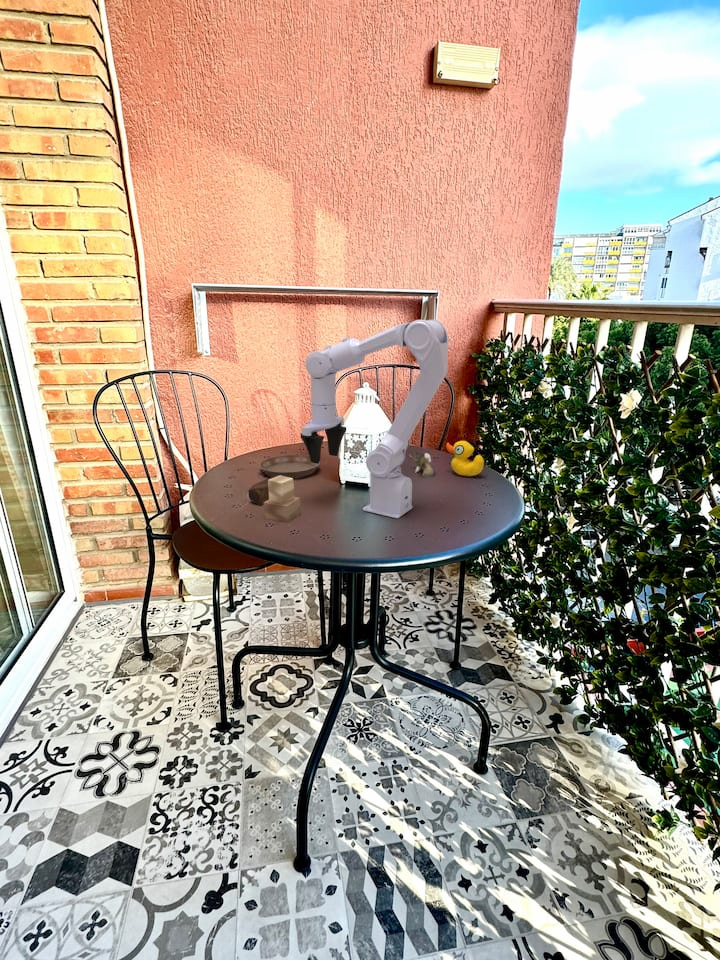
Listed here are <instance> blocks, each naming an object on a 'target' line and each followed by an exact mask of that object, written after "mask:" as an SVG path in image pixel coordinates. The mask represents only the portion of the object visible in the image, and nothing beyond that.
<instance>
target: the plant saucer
mask: <svg viewBox="0 0 720 960" xmlns="http://www.w3.org/2000/svg"><path fill="white" fill-rule="evenodd" d="M320 464H321V462H320V463H318V464H317V463H311V460H310V456H309V455H307V454H305V455H304V454H284V455H277V456H272V457H269V458H268V457H267V458H266V459H263V460H262V461H261V462H260V463H259V464H258V466H259V468H260V469H261V470H262V472H263V473H264V474H266V475H267V476H268V477H270V476H271V477H270V478H272V477H274V476H277V475H281V476H285V477H289V478H295V479H300V477H301V478H304V476H305V477H307V476H310V475H312V474H314V472H315V471H317V469H318V467H320Z"/></svg>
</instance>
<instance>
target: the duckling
mask: <svg viewBox="0 0 720 960" xmlns="http://www.w3.org/2000/svg"><path fill="white" fill-rule="evenodd" d="M445 447H446V450H447V452H448V453H449V454H452V455H453V454H454V458H452V460H451V462H450V464H451V465H450V466H451V468H452V470H453V471H454V472H455V473H456V474H457V475H458V476H464V477H474V476H477V475H479V474H480V473H481V472H482V471H483V469H484V465H485V459H484V458H483V457H482V455H481V454H479V455H475V457H474V458H473V461H470V460H469V459H468V458H469V457H470V456H471V455H472V454H473V453H474V451H475V447H474V446H473V445H471V443H469V442H468V441H466V440H459V441H457V442H455V443H454V445H451V444H450V443H449V442H446V445H445Z"/></svg>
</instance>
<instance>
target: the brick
mask: <svg viewBox="0 0 720 960" xmlns="http://www.w3.org/2000/svg"><path fill="white" fill-rule="evenodd" d="M277 476H280V475H277ZM277 476H274V477H269V478H267V479H264V480H261V481H259V482H256V483H255V484H252V486H251V487H250V488H249V489H248V491H247V492H248V498H249V500H250V502H252V503H251V504H256V505H257V506H261V505H264V502H265V501H267V500H269V489H268V480H269V479H272V478H275V477H277Z"/></svg>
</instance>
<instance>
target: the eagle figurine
mask: <svg viewBox="0 0 720 960" xmlns="http://www.w3.org/2000/svg"><path fill="white" fill-rule="evenodd" d="M408 456H409V458H410V459H411V460H413V461H414V462H415V463H416V468H415V472H414V474H415V473H418V472H419V471H420V470H421V469H422V470H423V472H422V477H424V478H425V479H430V478H433V477H434V476H436V470H435V468H434V466H433V465H431V462H432V459H431V455H430V454H429V453H427V452H425V453H424V452H423V453H422V452H421V453H420V454H419V456H418V454H415V455H414V457H413V456H412V455H411V454H408Z"/></svg>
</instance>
